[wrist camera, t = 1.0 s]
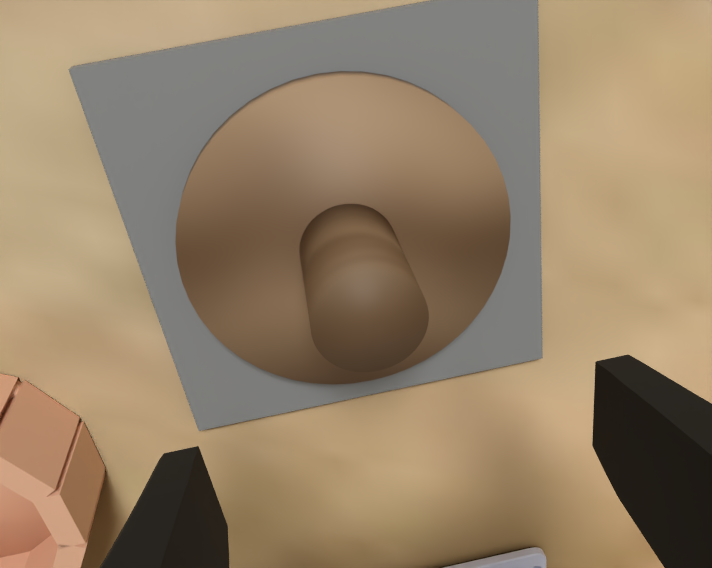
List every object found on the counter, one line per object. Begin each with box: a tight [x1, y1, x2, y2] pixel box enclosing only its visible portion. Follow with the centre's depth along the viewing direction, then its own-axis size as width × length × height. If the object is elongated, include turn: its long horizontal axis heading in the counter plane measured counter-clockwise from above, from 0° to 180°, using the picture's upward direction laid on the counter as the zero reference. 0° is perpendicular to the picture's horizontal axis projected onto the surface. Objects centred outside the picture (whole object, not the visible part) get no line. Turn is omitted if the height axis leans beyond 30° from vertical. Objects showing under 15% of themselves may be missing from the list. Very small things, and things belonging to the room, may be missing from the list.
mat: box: [69, 0, 543, 431], centre depth 20 cm, size 12×12×1 cm
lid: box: [175, 71, 511, 384], centre depth 18 cm, size 10×10×5 cm
